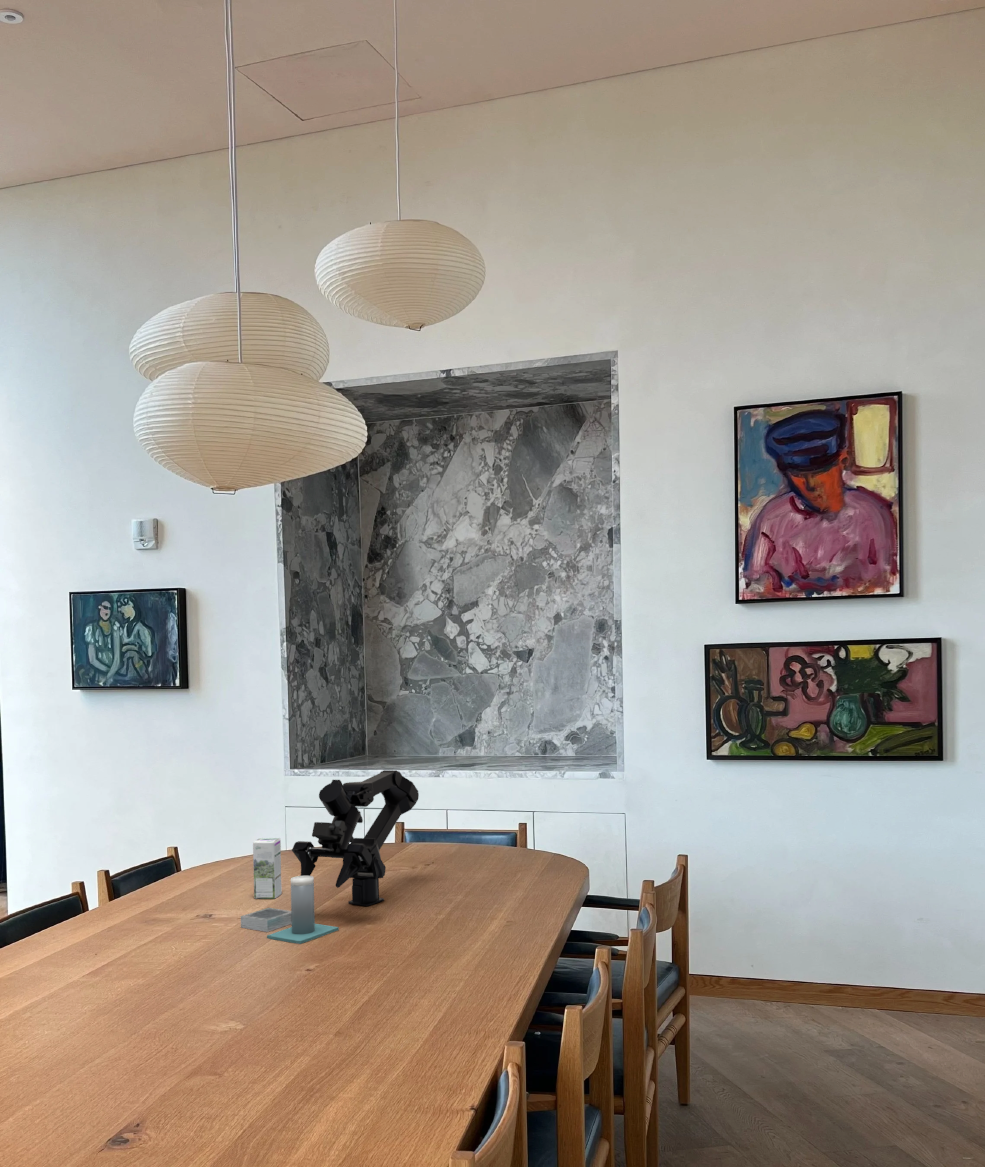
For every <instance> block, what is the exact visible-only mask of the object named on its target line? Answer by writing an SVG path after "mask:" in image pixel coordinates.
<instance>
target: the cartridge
mask: <svg viewBox="0 0 985 1167" xmlns="http://www.w3.org/2000/svg"><path fill="white" fill-rule="evenodd" d="M314 879H315V878H314V876H313V875H310V876H301V875H297V876H293V877H291V878H290V909H291V910H290V911H291V919H292V924H291V927H292V933H293V934H308V933H312V932H314V931H315V924H316V922H315V918H316V917H315V887H314V886H315V881H314Z"/></svg>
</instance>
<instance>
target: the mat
mask: <svg viewBox="0 0 985 1167" xmlns="http://www.w3.org/2000/svg"><path fill="white" fill-rule="evenodd" d="M339 930H340V927H338V926H332V925H325V924H320V923H315V931H314V932H312V933H308V934H293V933H292V926H291V927H288V928H287V927H286V928H285V929H282V930H279V931H275V932H273V933H271V934H268V935H266V939H270V940H273V941H274V940H275V941H280V942H286V943H291V944H292V943H293V944H299V945H302V944H304V943H307V942H310V941H313V940H316V939H318V938H321V937H323V936H326V935H329V934H331V933H335V932H338V931H339Z"/></svg>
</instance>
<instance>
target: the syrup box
mask: <svg viewBox="0 0 985 1167" xmlns="http://www.w3.org/2000/svg"><path fill="white" fill-rule="evenodd" d="M281 844H282V843H281V838H280V837H278V838H277V837H275V838H273V837H269V838H263V837H262V838H258V839H255V840H254V841H253V842H252V855H253V856H252V857H253V859H252V860H253V861H252V862H253V898H254V899H255V900H257V899H259V900H263V899H264V900H265V899H268V900H269V899H277V898H278V897H280V896H281V895H282V893H283V891H282V890H283V888H282V886H283V885H282V861H281V860H282V857H281V856H282V849H281V848H282V845H281Z"/></svg>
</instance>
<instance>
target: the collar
mask: <svg viewBox="0 0 985 1167" xmlns="http://www.w3.org/2000/svg"><path fill="white" fill-rule="evenodd" d="M290 925H292V919H291V910H288V909H281V908H280V909H279V908H274V907H273V908H272V907H267V908H262V909H260V910H256V911H253V912H250V913H247V914H243V915H241V916H240V928H242V929H247V930H248V929H249V930H254V931H258V932H266V933H268V932H272V931H275V930H278V929H281V928H283V927H286V926H290Z"/></svg>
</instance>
